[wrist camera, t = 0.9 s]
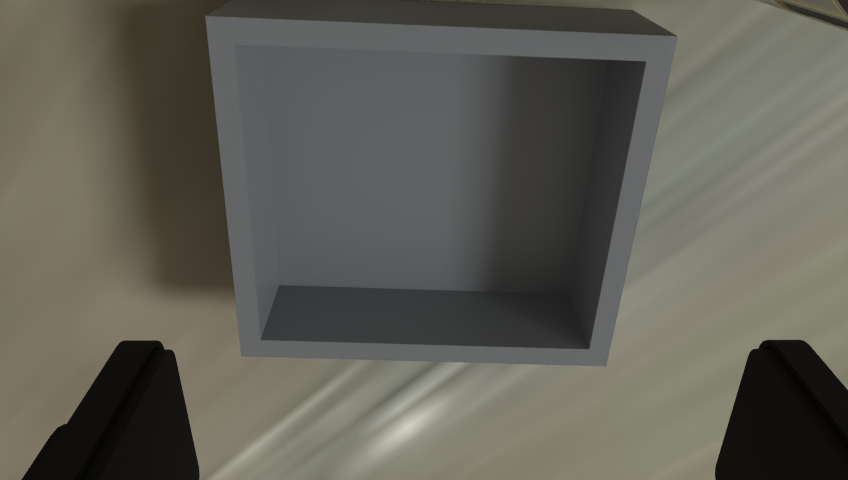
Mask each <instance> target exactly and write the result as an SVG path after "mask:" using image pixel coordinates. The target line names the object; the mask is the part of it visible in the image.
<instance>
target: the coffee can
mask: <svg viewBox="0 0 848 480" xmlns="http://www.w3.org/2000/svg"><path fill="white" fill-rule="evenodd" d="M757 1H760V2H763V3H766V4H769V5H772V6H775V7H777V8H780V9H783V10H786V11H789V12H791V13H794V14H797V15H800V16H803V17H807V18H810V19H813V20H816V21H819V22H822V23H825V24H828V25H830V26H833V27H836V28H839V29H842V30H845V31H848V0H757Z"/></svg>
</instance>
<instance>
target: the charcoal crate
mask: <svg viewBox="0 0 848 480" xmlns="http://www.w3.org/2000/svg"><path fill="white" fill-rule="evenodd" d="M205 19H206V28H207V38H208V47H209V57H210V66H211V75H212V85H213V94H214V104H215V113H216V122H217V132H218V141H219V151H220V160H221V169H222V179H223V188H224V198H225V207H226V216H227V226H228V235H229V245H230V254H231V263H232V273H233V282H234V292H235V301H236V310H237V320H238V329H239V338H240V348H241V356H255V357H291V358H327V359H364V360H400V361H436V362H472V363H509V364H545V365H581V366H606V364H607V359H608V355H609V350H610V346H611V341H612V336H613V332H614V327H615V322H616V318H617V313H618V309H619V304H620V299H621V295H622V290H623V285H624V281H625V276H626V272H627V267H628V262H629V258H630V253H631V248H632V244H633V239H634V235H635V230H636V225H637V221H638V216H639V212H640V207H641V202H642V198H643V193H644V188H645V184H646V179H647V175H648V170H649V165H650V161H651V156H652V151H653V147H654V142H655V138H656V133H657V128H658V124H659V119H660V114H661V110H662V105H663V101H664V96H665V91H666V87H667V82H668V77H669V73H670V68H671V64H672V59H673V54H674V50H675V45H676V40H677V36H676V35H674V34H673V33H671V32H669V31H667V30H666V29H664V28H662V27H661V26H659V25H657V24H655V23H654V22H652V21H650V20H649V19H647V18H645V17H643V16H642V15H640V14H638V13H636V12H635V11H633V10H615V9H592V8H570V7H547V6H524V5H501V4H478V3H456V2H433V1H410V0H230V1H228V2H227V3H225V4H224V5H222V6H220V7H219V8H217V9H216V10H214V11H212V12H211V13H209V14H208V15H206V16H205Z"/></svg>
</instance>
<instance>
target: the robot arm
mask: <svg viewBox="0 0 848 480" xmlns="http://www.w3.org/2000/svg"><path fill="white" fill-rule="evenodd" d="M715 478H716V480H848V390H847V389H846V388H845V386H844V385H843V384H842V383H841V382H840V381H839V379H838V378H837V377H836V376H835V375H834V374H833V372H832V371H831V370H830V369H829V368H828V366H827V365H826V364H825V363H824V362H823V361H822V359H821V358H820V357H819V356H818V355H817V354H816V352H815V351H814V350H813V349H812V348H811V346H810V345H809V344H807V343H806V342H805V341H802V340H766V341H763V342H762V343H761V344H760V346H759V349H754V350H752V351H751V352H750V354H749V356H748V359H747V362H746V366H745V369H744V373H743V376H742V379H741V383H740V386H739V389H738V393H737V396H736V400H735V403H734V406H733V410H732V413H731V416H730V420H729V423H728V427H727V430H726V433H725V437H724V440H723V444H722V447H721V450H720V454H719V457H718V460H717V464H716V468H715ZM22 480H199V466H198V461H197V456H196V452H195V447H194V442H193V438H192V433H191V428H190V423H189V419H188V414H187V409H186V405H185V400H184V395H183V390H182V386H181V381H180V376H179V372H178V367H177V362H176V357H175V354H174V352H173V351H172V350H164V347H163V345H162V343H161V342H160V341H122V342H120V343H119V344H118V346H117V347H116V348H115V350H114V352H113V353H112V355H111V356H110V358H109V359H108V361H107V362H106V364H105V365H104V367H103V369H102V370H101V372H100V373H99V375H98V376H97V378H96V379H95V381H94V383H93V384H92V386H91V387H90V389H89V390H88V392H87V393H86V395H85V397H84V398H83V400H82V401H81V403H80V404H79V406H78V407H77V409H76V410H75V412H74V414H73V415H72V417H71V418H70V420H69V421H68V423H67V424H64V425H62V426H60V427H58V428H57V429H56V430H55V431H54V433H53V434H52V435H51V436H50V438H49V439H48V441H47V442H46V444H45V445H44V447H43V448H42V450H41V451H40V453H39V454H38V456H37V457H36V459H35V460H34V462H33V463H32V465H31V466H30V468H29V469H28V471H27V472H26V474H25V475H24V477H23V478H22Z"/></svg>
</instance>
